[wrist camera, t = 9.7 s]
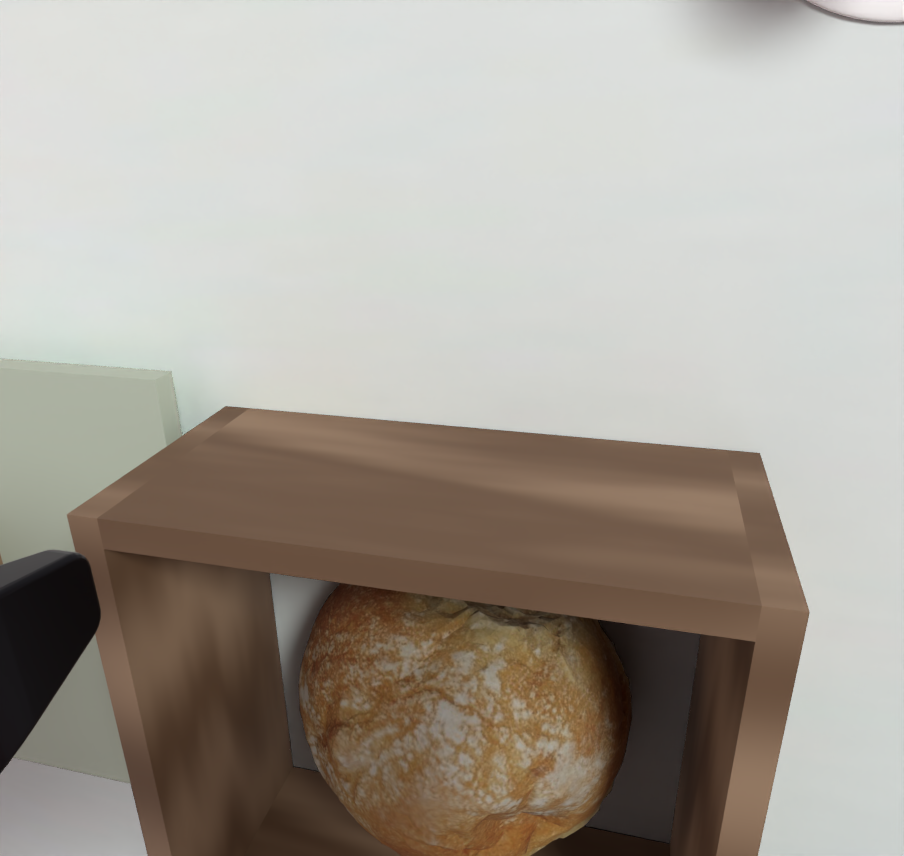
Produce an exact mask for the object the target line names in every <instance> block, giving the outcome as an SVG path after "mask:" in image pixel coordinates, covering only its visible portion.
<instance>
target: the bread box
mask: <svg viewBox="0 0 904 856" xmlns="http://www.w3.org/2000/svg"><path fill="white" fill-rule="evenodd" d="M67 519H68V523H69V527H70V531H71V535H72V540H73V544H74V548H75V552H77V553H80V554H82V555H84V556H85V557H86V558H87V560H88V561H89V563H90V566H91V570H92V574H93V578H94V583H95V587H96V591H97V595H98V599H99V604H100V608H101V619H100V624H99V627H98V629H97V631H96V633H95V636H96V640H97V644H98V649H99V653H100V657H101V661H102V665H103V669H104V674H105V678H106V682H107V686H108V690H109V695H110V699H111V703H112V707H113V711H114V716H115V720H116V724H117V728H118V732H119V737H120V741H121V745H122V749H123V753H124V758H125V762H126V766H127V770H128V774H129V778H130V783H131V787H132V791H133V795H134V799H135V804H136V808H137V812H138V816H139V820H140V825H141V829H142V833H143V837H144V841H145V846H146V850H147V854H148V856H400V855H399V854H398V853H397V852H396V851H394V850H393V849H391V848H389V847H388V846H386V845H383V844H381V842H380V841H379V840H377V839H376V838H375V837H373V836H372V835H371V834H370V833H368V832H367V831H366V830H365V829H364V828H363V827H362V826H361V825H360V824H359V823H358V822H357V821H356V820H355V819H354V817H353V816H352V815H351V814H350V813H349V812H348V811H347V809H346V807H345V806H344V804H342V803H341V802H340V801H339V798H338V797H337V795H336V794H335V793H334V792H333V790H332V789H331V788H330V786H329V785H328V784H327V782H326V781H325V779H324V778H323V776H322V775H321V773H320V772H317V771H312V770H307V769H302V768H297V767H293V762H292V754H291V745H290V737H289V729H288V721H287V713H286V705H285V697H284V688H283V680H282V672H281V664H280V656H279V648H278V640H277V631H276V623H275V615H274V607H273V599H272V591H271V583H270V574H269V573H275V574H282V575H289V576H296V577H303V578H310V579H317V580H324V581H331V582H338V583H345V584H352V585H359V586H366V587H373V588H380V589H387V590H394V591H401V592H408V593H416V594H423V595H430V596H437V597H444V598H451V599H458V600H465V601H472V602H479V603H486V604H493V605H500V606H507V607H514V608H521V609H528V610H535V611H542V612H549V613H556V614H563V615H570V616H577V617H584V618H591V619H598V620H605V621H612V622H619V623H626V624H633V625H641V626H648V627H655V628H662V629H669V630H676V631H683V632H690V633H697V634H701V635H700V642H699V649H698V656H697V662H696V669H695V676H694V683H693V690H692V696H691V703H690V710H689V717H688V724H687V730H686V737H685V744H684V751H683V758H682V764H681V771H680V778H679V785H678V792H677V798H676V805H675V812H674V819H673V826H672V832H671V839H670V844H667V843H662V842H657V841H652V840H647V839H642V838H637V837H633V836H628V835H623V834H618V833H613V832H608V831H603V830H599V829H594V828H589V827H584V826H583V827H582V828H580V829H579V830H577V831H575V832H574V833H572V834H570V835H569V836H567V837H565V838H558V839H556V840H553V841H552V842H550V843H549V844H547V845H546V846H545V847H543V848H542V849H540V850H538V851H537V852H535V853H534V854H532V855H531V856H758V851H759V847H760V842H761V837H762V833H763V828H764V823H765V819H766V814H767V809H768V805H769V800H770V795H771V791H772V786H773V781H774V776H775V772H776V767H777V762H778V758H779V753H780V748H781V744H782V739H783V734H784V730H785V725H786V720H787V716H788V711H789V706H790V701H791V697H792V692H793V687H794V683H795V678H796V673H797V669H798V664H799V659H800V655H801V650H802V645H803V641H804V636H805V631H806V627H807V622H808V617H809V609H808V606H807V603H806V599H805V596H804V593H803V590H802V587H801V583H800V580H799V577H798V574H797V571H796V567H795V564H794V561H793V558H792V555H791V551H790V548H789V545H788V542H787V539H786V535H785V532H784V529H783V526H782V523H781V520H780V516H779V513H778V510H777V507H776V504H775V500H774V497H773V494H772V491H771V488H770V484H769V481H768V478H767V475H766V472H765V468H764V465H763V462H762V459H761V456H760V453H752V452H741V451H729V450H718V449H706V448H695V447H684V446H672V445H661V444H649V443H638V442H627V441H615V440H604V439H592V438H581V437H570V436H558V435H547V434H535V433H524V432H513V431H501V430H490V429H478V428H467V427H455V426H444V425H433V424H421V423H410V422H398V421H387V420H376V419H364V418H353V417H341V416H330V415H319V414H307V413H296V412H284V411H273V410H262V409H250V408H239V407H227V406H226V407H224V408H223V409H221V410H220V411H218V412H217V413H215V414H214V415H212V416H211V417H209V418H208V419H206V420H205V421H203V422H202V423H201V424H199V425H198V426H196V427H195V428H193V429H192V430H190V431H189V432H187V433H186V434H184V435H183V436H181V437H180V438H178V439H177V440H175V441H174V442H173V443H171V444H170V445H168V446H167V447H165V448H164V449H162V450H161V451H159V452H158V453H156V454H155V455H153V456H152V457H150V458H149V459H147V460H146V461H145V462H143V463H142V464H140V465H139V466H137V467H136V468H134V469H133V470H131V471H130V472H128V473H127V474H125V475H124V476H122V477H121V478H120V479H118V480H117V481H115V482H114V483H112V484H111V485H109V486H108V487H106V488H105V489H103V490H102V491H100V492H99V493H97V494H96V495H94V496H93V497H92V498H90V499H89V500H87V501H86V502H84V503H83V504H81V505H80V506H78V507H77V508H75V509H74V510H72V511H71V512H69V513H68V514H67Z"/></svg>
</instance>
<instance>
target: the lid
mask: <svg viewBox="0 0 904 856" xmlns="http://www.w3.org/2000/svg"><path fill="white" fill-rule="evenodd" d="M181 436H182V432H181V426H180V420H179V414H178V408H177V402H176V395H175V389H174V383H173V377H172V371H160V370H147V369H134V368H120V367H107V366H93V365H80V364H67V363H53V362H40V361H26V360H13V359H0V565H2V564H5V563H8V562H11V561H14V560H18V559H21V558H24V557H27V556H30V555H33V554H36V553H39V552H42V551H46V550H53V549H55V550H63V551H70V552H75V548H74V544H73V540H72V535H71V531H70V527H69V523H68V519H67V514H68V513H69V512H71V511H72V510H74V509H75V508H77V507H78V506H80V505H81V504H83V503H84V502H86V501H87V500H89V499H90V498H92V497H93V496H94V495H96V494H97V493H99V492H100V491H102V490H103V489H105V488H106V487H108V486H109V485H111V484H112V483H114V482H115V481H117V480H118V479H120V478H121V477H122V476H124V475H125V474H127V473H128V472H130V471H131V470H133V469H134V468H136V467H137V466H139V465H140V464H142V463H143V462H145V461H146V460H147V459H149V458H150V457H152V456H153V455H155V454H156V453H158V452H159V451H161V450H162V449H164V448H165V447H167V446H168V445H170V444H171V443H173V442H174V441H175V440H177V439H178V438H180V437H181ZM13 758H17V759H22V760H26V761H31V762H35V763H40V764H44V765H49V766H53V767H58V768H62V769H67V770H71V771H76V772H80V773H85V774H89V775H94V776H98V777H103V778H107V779H112V780H116V781H121V782H125V783H130V778H129V774H128V770H127V766H126V762H125V758H124V753H123V749H122V745H121V741H120V737H119V732H118V728H117V724H116V720H115V716H114V711H113V707H112V703H111V699H110V695H109V690H108V686H107V682H106V678H105V674H104V669H103V665H102V661H101V657H100V653H99V649H98V644H97V640H96V636H95V635H94V636H93V638H92V639H91V641H90V643H89V644H88V646H87V647H86V649H85V650H84V652H83V653H82V655H81V656H80V658H79V659H78V661H77V663H76V664H75V666H74V667H73V669H72V670H71V672H70V673H69V675H68V676H67V678H66V679H65V681H64V682H63V684H62V686H61V687H60V689H59V690H58V692H57V693H56V695H55V696H54V698H53V699H52V701H51V702H50V704H49V706H48V707H47V709H46V710H45V712H44V713H43V715H42V716H41V718H40V719H39V721H38V722H37V724H36V725H35V727H34V728H33V730H32V731H31V733H30V734H29V736H28V737H27V739H26V740H25V742H24V743H23V745H22V746H21V747H20V749H19V750H18V751H17V753H16V754H15V755H14V757H13ZM130 784H131V783H130Z"/></svg>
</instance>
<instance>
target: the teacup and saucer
mask: <svg viewBox="0 0 904 856" xmlns="http://www.w3.org/2000/svg"><path fill="white" fill-rule="evenodd" d="M807 1H808V2H810V3H812V4H814V5H816V6H818V7H820V8H823V9H825V10H827V11H830V12H833V13H836V14H839V15H842V16H846V17H850V18H855V19H860V20H866V21H875V22H904V0H807Z"/></svg>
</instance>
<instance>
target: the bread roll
mask: <svg viewBox="0 0 904 856" xmlns="http://www.w3.org/2000/svg"><path fill="white" fill-rule="evenodd" d="M299 701H300V713H301V717H302V721H303V726H304V731H305V735H306V739H307V742H308V744H309V746H310V749H311V752H312V756H313V759H314V761H315V763H316V766H317V768H318V770H319V771H320V773H321V775H322V776H323V778H324V779H325V781H326V782H327V784H328V785H329V786H330V788H331V789H332V790H333V792H334V793H335V794H336V795H337V797H338V798H339V801H340V802H341V803H342V804H344V806H345V807H346V809H347V811H348V812H349V813H350V814H351V815H352V816H353V817H354V819H355V820H356V821H357V822H358V823H359V824H360V825H361V826H362V827H363V828H364V829H365V830H366V831H367V832H368V833H370V834H371V835H372V836H373V837H375V838H376V839H377V840H379V841H380V842H381V844H383V845H386V846H388V847H389V848H391V849H393V850H394V851H396V852H397V853H398V854H399V855H400V856H531V855H532V854H534V853H535V852H537V851H538V850H540V849H542V848H543V847H545V846H546V845H547V844H549V843H550V842H552V841H553V840H556V839H558V838H565V837H567V836H569V835H570V834H572V833H574V832H575V831H577V830H579V829H580V828H582V827H583V826H585V825H586V823H587V822H588V821H589V820H590V819H591V818H592V817H593V816H594V815H595V814H596V813H597V812H598V811H599V810H600V805H601V803H602V801H603V799H604V798H605V797H607V795H608V794H609V793H610V792H611V790H612V787H613V783H614V779H615V777H616V775H617V773H618V771H619V769H620V767H621V765H622V762H623V759H624V755H625V751H626V746H627V741H628V735H629V730H630V724H631V719H632V705H631V692H630V688H629V679H628V677H627V676H626V674H625V672H624V669H623V666H622V663H621V661H620V659H619V657H618V655H617V654H616V650H615V644H614V643H612V642H611V641H610V640H609V638H608V637H607V635H606V634H605V632H604V631H603V630H602V628H601V626H600V624H599V621H598V620H597V619H591V618H584V617H577V616H570V615H563V614H556V613H549V612H542V611H535V610H528V609H521V608H514V607H507V606H500V605H493V604H486V603H479V602H472V601H465V600H458V599H451V598H444V597H437V596H430V595H423V594H416V593H408V592H401V591H394V590H387V589H380V588H373V587H366V586H359V585H352V584H345V583H340V584H339V585H338V586H337V588H336V589H335V590H334V591H333V592H332V594H331V595H330V596H329V597H328V599H327V600H326V602H325V603H324V605H323V607H322V608H321V610H320V612H319V614H318V616H317V618H316V621H315V623H314V625H313V628H312V631H311V634H310V637H309V640H308V643H307V646H306V649H305V652H304V655H303V660H302V664H301V669H300V675H299Z"/></svg>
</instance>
